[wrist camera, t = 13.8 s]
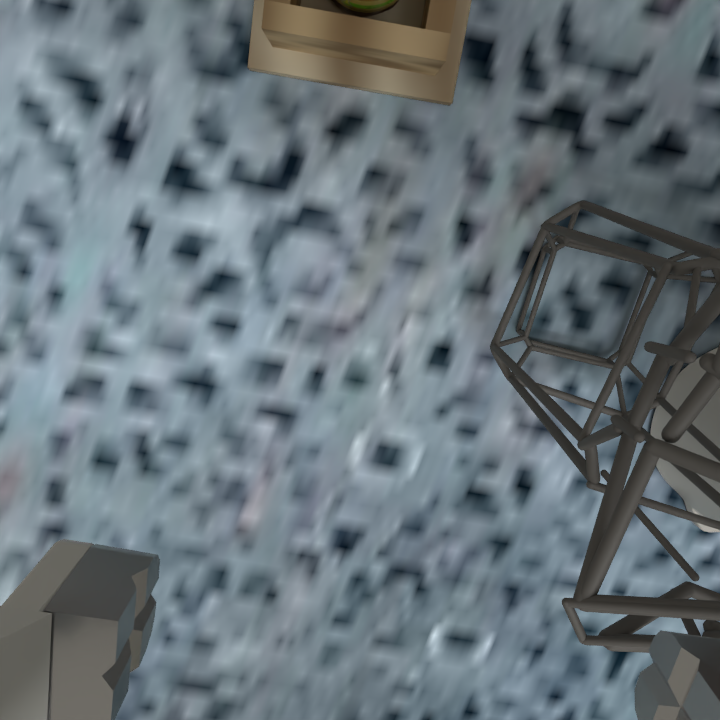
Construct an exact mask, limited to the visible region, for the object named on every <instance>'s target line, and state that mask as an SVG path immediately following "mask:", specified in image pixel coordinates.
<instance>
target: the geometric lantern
mask: <svg viewBox="0 0 720 720" xmlns="http://www.w3.org/2000/svg"><path fill="white" fill-rule="evenodd" d="M580 209H584V210H587V211H589V212H592V213H594V214H597V215H599V216H601V217H604V218H606V219H609V220H611V221H613V222H616V223H618V224H621V225H623V226H625V227H628V228H630V229H633V230H635V231H637V232H640V233H642V234H645V235H647V236H649V237H652V238H654V239H657V240H659V241H661V242H664V243H666V244H669V245H671V246H673V247H676V248H678V249H681V250H683V251H685V252H684V253H681V254H678V255H676V256H673V257H671V258H668V259H667V258H663V257H660V256H657V255H654V254H650V253H647V252H644V251H641V250H638V249H634V248H631V247H628V246H624V245H621V244H618V243H615V242H611V241H608V240H605V239H602V238H598V237H595V236H592V235H589V234H585V233H582V232H579V231H576V230H573V227H574V224H575V222H576V219H577V216H578V213H579V210H580ZM571 214H572V216H571V219H570V222H569V225H568V228H566V227H562V226H559V225H555V224H556V223H558V222H560V221H561V220H563V219H565V218H566V217H568V216H570V215H571ZM550 232H552V233H556V234H559V236H558V235H556V236H555V237H554V238H552V236H551V234H550ZM561 235H562V236H561ZM545 238H546V239H547V241H548V243H547V244H546V245H544V246H543V247H542V244H543V242H544V240H545ZM555 242H557V243H559V244H558V245H556V244H555ZM565 246H567V247H571V248H575V249H580V250H584V251H588V252H592V253H596V254H600V255H605V256H609V257H613V258H617V259H621V260H625V261H629V262H634V263H638V264H642V265H643V266H644V267H645V268H646V269H647V271H648V272H647V275H646V278H645V280H644V283H643V286H642V289H641V291H640V294H639V297H638V299H637V302H636V305H635V307H634V310H633V313H632V315H631V318H630V321H629V323H628V326H627V329H626V331H625V334H624V337H623V339H622V342H621V345H620V347H619V350H618V351H617V352H615V353H614V354H613V355H611V356H610V357H609V358H607V359H606V358H602V357H598V356H594V355H590V354H586V353H582V352H578V351H574V350H570V349H566V348H562V347H558V346H554V345H550V344H546V343H542V342H538V341H534V340H530V339H529V338H528V336H529V333H530V330H531V327H532V324H533V321H534V318H535V315H536V312H537V309H538V306H539V303H540V300H541V297H542V294H543V291H544V288H545V285H546V282H547V279H548V276H549V273H550V270H551V267H552V264H553V261H554V258H555V255H556V252H557V251H558V250H559V249H561V248H563V247H565ZM541 247H542V251H541V254H540V257H539V260H538V263H537V266H536V269H535V272H534V276H533V279H532V282H531V285H530V288H529V291H528V294H527V297H526V300H525V303H524V306H523V309H522V313H521V316H520V319H519V322H518V325H517V329H516V332H517V333H518V334H519V335H520V336H518V337H515V338H511V339H508V340H504V341H501V339H502V336H503V334H504V332H505V329H506V327H507V325H508V322H509V320H510V318H511V316H512V313H513V311H514V309H515V306H516V304H517V302H518V300H519V297H520V295H521V293H522V290H523V288H524V286H525V283H526V281H527V279H528V277H529V274H530V272H531V270H532V267H533V265H534V263H535V260H536V258H537V256H538V254H539V251H540V249H541ZM550 247H551V248H550ZM546 252H547V253H549V254H550V257H549V260H548V263H547V266H546V269H545V272H544V275H543V278H542V281H541V284H540V287H539V290H538V293H537V296H536V299H535V302H534V305H533V308H532V311H531V314H530V317H529V320H528V323H527V326H526V329H525V332H524V331H523V330H521V328H522V325H523V322H524V319H525V316H526V313H527V310H528V306H529V303H530V300H531V297H532V294H533V291H534V288H535V285H536V282H537V279H538V276H539V273H540V270H541V267H542V264H543V261H544V257H545V254H546ZM691 255H696V256H698V257H701V258H699V259H693V260H687V261H682V262H676V261H677V260H680V259H683V258H685V257H688V256H691ZM652 267H653V268H654V269H655V271H653V269H652ZM711 269H712V272H713V274H714V277H704V276H701V271H706V270H711ZM691 273H693V274H692V276H691V275H686V274H691ZM652 276H653V277H655V278H656V280H655V282H654V284H653V286H652V288H651V290H650V292H649V294H648V296H647V298H646V300H645V302H644V304H643V306H642V308H641V311H640V313H639V315H638V317H637V314H638V311H639V309H640V306H641V303H642V301H643V298H644V295H645V293H646V290H647V287H648V285H649V282H650V279H651V277H652ZM667 279H675V280H687V281H691V286H690V292H689V299H688V305H687V311H686V317H685V323H684V328H683V329H682V331H681V332H680V333H679V334H678V336H677V337H676V338H675V339H674V340H673V342H672V343H671V344H670V345H669V346H668V345H664V344H660V343H656V342H652V341H649V342H647V343H645V345H644V349H645V350H646V351H648V352H650V353H654V354H657V355H656V357H655V359H654V361H653V363H652V365H651V368H650V370H649V372H648V374H647V377H646V378H645V377H644V376H643V375H642V374H641V373H640V372H639V371H638V370H637V369H636V368H635V366H634V365H633V364H632V363H631V360H632V357H633V355H634V352H635V349H636V347H637V344H638V341H639V339H640V336H641V333H642V331H643V328H644V325H645V323H646V320H647V318H648V316H649V314H650V312H651V310H652V308H653V306H654V304H655V302H656V300H657V298H658V296H659V294H660V292H661V290H662V288H663V286H664V284H665V282H666V280H667ZM700 282H711V283H716V285H715V287H714V289H713V290H712V292H711V294H710V296H709V298H708V299H707V300H706V301H705V303H704V304H703V305H702V306H701V308H700V309H699V310H698V311H697V312H696V305H697V298H698V291H699V285H700ZM695 312H696V314H695ZM719 314H720V248H713V247H711V246H709V245H705V244H702V243H700V242H697V241H694V240H691V239H689V238H686V237H683V236H680V235H678V234H675V233H672V232H669V231H667V230H664V229H661V228H658V227H655V226H653V225H650V224H647V223H644V222H642V221H639V220H636V219H634V218H631V217H628V216H626V215H623V214H620V213H618V212H615V211H612V210H610V209H607V208H604V207H602V206H599V205H596V204H593V203H590V202H587V201H579V202H577V203H575V204H573V205H571V206H569V207H567V208H566V209H564V210H562V211H561V212H559V213H557V214H556V215H554V216H552V217H551V218H549V219H548V220H546V221H545V222H544V223H543V224H542V225H541V229H540V231H539V233H538V236H537V238H536V240H535V242H534V245H533V247H532V249H531V252H530V254H529V256H528V259H527V261H526V263H525V266H524V268H523V270H522V273H521V275H520V277H519V280H518V282H517V284H516V287H515V289H514V291H513V294H512V296H511V298H510V301H509V303H508V305H507V307H506V310H505V312H504V314H503V317H502V319H501V321H500V324H499V326H498V328H497V331H496V333H495V335H494V338H493V340H492V342H491V345H490V349H491V352H492V354H493V356H494V358H495V360H496V362H497V363H498V365H499V367H500V369H501V370H502V372H503V374H504V376H505V377H506V379H507V380H508V381H509V382H510V383H511V384H512V386H513V387H514V388H515V389H516V391H517V392H518V393H519V394H520V396H521V397H522V398H523V399H524V401H525V402H526V403H527V404H528V406H529V407H530V408H531V410H532V411H533V412H534V413H535V415H536V416H537V417H538V418H539V420H540V421H541V422H542V424H543V425H544V426H545V427H546V429H547V430H548V431H549V432H550V434H551V435H552V436H553V437H554V439H555V440H556V441H557V443H558V444H559V445H560V446H561V448H562V449H563V450H564V451H565V453H566V454H567V455H568V457H569V458H570V459H571V460H572V462H573V463H574V464H575V465H576V467H577V468H578V469H579V470H580V472H581V473H582V474H583V476H584V477H585V478H586V479H587V483H586V485H587V487H588V488H590V489H593V490H596V491H599V492H602V493H604V496H603V499H602V502H601V506H600V509H599V512H598V516H597V519H596V523H595V526H594V529H593V533H592V536H591V539H590V543H589V546H588V549H587V553H586V556H585V559H584V563H583V566H582V570H581V573H580V576H579V580H578V583H577V586H576V590H575V593H574V596H573V598H564V599H563V600H562V605H563V607H564V609H565V611H566V613H567V615H568V618H569V620H570V622H571V624H572V626H573V628H574V630H575V633H576V635H577V637H578V639H579V641H580V642H581V643H582V644H584V645H597V646H604V647H606V648H607V649H608V650H610V651H622V652H647V653H649V651H648V650H649V648H650V645H651V643H652V640H653V638H654V637H655V636H656V635H639V634H633V633H634V632H636V631H637V630H639V629H641V628H642V627H644V626H646V625H647V624H649V623H650V622H652V621H654V620H655V619H657V618H658V617H672V618H681V619H682V621H683V623H684V626H685V628H686V630H687V632H688V634H689V635H696V636H701V635H700V633H699V631H698V628H697V626H696V624H695V622H694V620H693V619H701V620H706V621H705V622H704V623H703V627H704V632H703V635H702V636H703V637H710V638H717V639H720V622H718V621H720V594H719V593H717V592H714V591H711V590H709V589H706V588H704V587H701V586H699V585H696V584H694V583H691V582H684V583H682V584H681V585H679V586H677V587H675V588H673V589H671V590H670V591H669V592H667V593H665V594H663V595H662V596H660V597H658V598H653V597H634V596H614V595H597V593H598V591H599V589H600V587H601V585H602V582H603V580H604V578H605V576H606V574H607V571H608V569H609V567H610V565H611V563H612V560H613V558H614V556H615V554H616V552H617V549H618V547H619V545H620V543H621V541H622V539H623V536H624V534H625V532H626V530H627V528H628V525H629V523H630V521H631V519H632V517H633V514H634V513H635V514H636V516H637V517H638V518H639V519H640V520H641V521H642V523H643V524H644V525H645V526H646V527H647V528H648V529H649V531H650V532H651V533H652V534H653V535H654V536H655V538H656V539H657V540H658V541H659V542H660V543H661V544H662V546H663V547H664V548H665V549H666V550H667V551H668V553H669V554H670V555H671V556H672V557H673V558H674V559H675V561H676V562H677V563H678V564H679V565H680V566H681V568H682V569H683V570H684V571H685V572H686V573H687V574H688V576H689V577H690V578H691V579H692V580H693V581H698V580H699V576H698V574H697V573H696V572H695V571H694V570H693V569H692V568H691V566H690V565H689V564H688V563H687V562H686V561H685V560H684V558H683V557H682V556H681V555H680V554H679V553H678V552H677V550H676V549H675V548H674V547H673V546H672V545H671V544H670V542H669V541H668V540H667V539H666V538H665V537H664V536H663V535H662V533H661V532H660V531H659V530H658V529H657V528H656V527H655V525H654V524H653V523H652V522H651V521H650V520H649V519H648V517H647V516H646V515H645V514H644V513H643V512H642V511H641V510H640V508H639V507H638V504H640V505H643V506H646V507H649V508H652V509H656V510H659V511H662V512H665V513H668V514H671V515H674V516H677V517H681V518H684V519H687V520H690V521H693V522H696V523H699V524H703V525H706V526H709V527H712V528H715V529H718V530H720V521H716V520H713V519H710V518H707V517H704V516H701V515H698V514H695V513H691V512H688V511H685V510H682V509H679V508H676V507H673V506H670V505H666V504H663V503H660V502H657V501H654V500H651V499H648V498H645V497H642V495H643V492H644V490H645V488H646V486H647V484H648V481H649V479H650V477H651V475H652V473H653V470H654V468H655V466H656V464H657V462H658V459H659V458H661V459H663V460H666V461H668V462H670V463H671V464H672V465H673V466H674V467H675V468H676V469H677V470H679V471H680V472H681V473H682V474H683V475H684V476H685V477H686V478H687V479H689V480H690V481H691V482H692V483H693V484H694V485H695V486H696V487H698V488H699V489H700V490H701V491H702V492H703V493H704V494H705V495H706V496H708V497H709V498H710V499H711V500H712V501H713V502H714V503H715V504H716V505H718V506H719V507H720V493H719V492H718V491H717V490H715V489H714V488H713V487H712V486H711V485H709V484H708V483H707V482H706V481H705V480H704V479H702V478H701V477H700V476H699V475H698V474H700V475H702V476H705V477H707V478H710V479H712V480H714V481H717V482H719V483H720V463H719V462H716V461H713V460H711V459H708V458H706V457H703V456H701V455H698V454H696V453H693V452H690V451H688V450H685V449H683V448H680V447H678V446H675V445H673V444H670V443H676V442H677V441H678V440H679V439H680V438H681V437H682V435H683V434H684V433H685V431H686V430H687V431H688V432H689V433H690V434H691V435H692V436H693V437H694V438H695V439H696V440H697V441H698V442H699V443H700V444H701V445H703V446H704V447H705V448H706V449H707V450H708V451H709V452H710V453H711V454H712V455H713V456H714V457H715V458H716V459H717V460H718V461H720V448H718V447H717V446H716V445H715V444H714V443H713V442H712V441H711V440H709V439H708V438H707V437H706V436H705V435H704V434H703V433H702V432H701V431H699V430H698V429H697V428H696V427H695V426H694V425H693V424H692V422H693V421H694V420H695V418H696V417H697V416H698V415H699V413H700V412H701V411H702V409H703V408H704V407H705V406H706V404H707V403H708V402H709V400H710V399H711V398H712V396H713V395H714V394H715V393H716V391H717V390H718V389H719V387H720V344H719V347H718V349H717V352H716V355H715V354H712V353H706V354H704V355H702V356H701V358H700V359H699V364H700V366H701V368H702V369H704V370H705V371H706V373H705V374H704V375H703V377H702V378H701V379H700V381H699V382H698V383H697V385H696V386H695V387H694V389H693V390H692V391H691V393H690V394H689V395H688V396H687V398H686V399H685V400H684V402H683V403H682V404H681V406H680V407H679V408H678V410H676V409H675V408H674V407H673V406H672V405H671V404H670V403H669V402H668V401H667V400H666V399H665V398H666V396H667V395H668V393H669V391H670V389H671V387H672V385H673V383H674V381H675V379H676V377H677V375H678V374H679V372H680V370H681V368H682V366H683V364H684V362H685V363H693V362H695V360H696V358H697V356H696V354H695V353H693V352H692V351H691V349H692V347H693V345H694V343H695V341H696V340H697V339H698V338H699V337H700V336H701V335H702V333H703V332H704V331H705V330H706V329H707V328H708V327H709V325H710V324H711V323H712V322H713V321H714V320H715V319H716V317H717V316H718V315H719ZM636 317H637V319H636ZM635 319H636V321H635ZM634 322H635V323H634ZM522 340H524V341H525V343H526V345H527V349H526V350H525V352H524V354H523V355H522V357H521V358H520V360H519V361H518V363H517V364H516V363H515V362H514V361H513V360H512V359H511V358H510V357H509V356H508V355H507V354H506V353H505V352H504V351H503V350H502V349H501V348H500V347H502V346H505V345H509V344H512V343H515V342H519V341H522ZM500 341H501V342H500ZM537 346H538V347H537ZM531 350H532V351H537V352H541V353H546V354H550V355H554V356H559V357H563V358H567V359H572V360H576V361H580V362H585V363H589V364H593V365H598V366H602V367H606V368H611V369H612V370H611V372H610V374H609V376H608V378H607V380H606V382H605V384H604V386H603V389H602V391H601V393H600V395H599V397H598V399H597V401H596V403H595V402H592V401H589V400H586V399H583V398H580V397H577V396H574V395H571V394H568V393H565V392H562V391H559V390H556V389H553V388H550V387H548V386H545V385H542V384H539V383H536V382H535V381H534V380H533V379H532V378H531V377H530V376H528V375H527V374H526V373H525V372H524V371H523V370H522V369H521V368H520V367H521V366H522V364H523V363H524V361H525V360H526V358H527V357H528V355H529V354H530V352H531ZM617 357H618V358H617ZM615 358H617V360H616V362H615V363H614V362H613V360H614V359H615ZM626 365H627V366H628V367H629V369H630V370H631V371H632V372H633V373H634V374H635V375H636V376H637V377H638V378H639V380H640V381H641V382H642V383H643V385H642V388H641V390H640V392H639V394H638V396H637V399H636V401H635V403H634V405H633V408H632V410H630V411H627V412H626V406H625V400H624V395H623V389H622V383H621V378H620V373H621V371H622V369H623V367H624V366H626ZM673 365H674V366H673ZM670 366H673V367H672V369H671V371H670V373H669V375H668V377H667V379H666V381H665V383H664V385H663V387H662V389H661V391H660V393H658V391H659V389H660V387H661V385H662V382H663V380H664V378H665V376H666V374H667V371H668V369H669V367H670ZM510 370H511V371H512V372H511V371H510ZM515 375H516V376H515ZM615 383H616V386H617V391H618V397H619V403H620V409H621V411H619V410H616V409H613V408H610V407H607V406H605V404H606V401H607V399H608V397H609V395H610V393H611V391H612V389H613V387H614V385H615ZM523 386H524V387H527V388H528V389H529V390H530V391H531V392H532V393H533V394H534V395H535V396H536V397H537V398H538V399H539V400H540V401H541V403H542V404H543V405H544V406H545V407H546V408H547V409H548V410H549V411H550V412H551V413H552V414H553V415H554V416H555V417H556V418H557V419H558V420H559V421H560V423H561V424H562V425H563V426H564V427H565V428H566V429H567V430H568V431H569V432H570V433H571V434H572V435H573V436H574V437H575V438H576V439H577V440H578V444H577V445H578V448H579V449H580V450H584V451H585V458H586V460H585V459H584V458H583V457H582V455H581V454H580V453H579V452H578V451H577V449H576V448H575V447H574V446H573V445H572V443H571V442H570V441H569V440H568V439H567V438H566V436H565V435H564V434H563V433H562V432H561V430H560V429H559V428H558V427H557V426H556V425H555V423H554V422H553V421H552V420H551V419H550V417H549V416H548V415H547V414H546V413H545V411H544V410H543V409H542V408H541V407H540V406H539V404H538V403H537V402H536V401H535V400H534V398H533V397H532V396H531V395H530V394H529V392H528V391H527V390H526V389H525V388H524V387H523ZM549 395H551V396H554V397H557V398H560V399H563V400H566V401H569V402H572V403H575V404H578V405H581V406H584V407H587V408H590V409H592V411H591V413H590V415H589V417H588V419H587V421H586V423H585V425H584V428H583V429H582V428H581V427H580V426H579V425H578V424H577V423H576V422H575V421H574V420H573V419H572V418H571V417H570V416H569V415H568V414H567V413H566V412H565V411H564V410H563V409H562V408H561V407H560V406H559V405H558V404H557V403H556V402H555V401H554V400H553V399H552V398H551V397H550V396H549ZM655 398H656V399H655ZM659 405H661V406H662V407H663V408H664V409H665V410H666V411H667V412H668V413H669V414H670V415H671V416H672V418H671V419H670V420H669V422H668V423H667V424H666V426H665V427H664V428H663V430H662V432H661V435H662V439H663V440H664V441H662V440H660V439H655V438H654V437H653V436H652V435H651V434H649V433H648V432H647V431H646V430H645V429H644V428H642V426H643V424H644V422H645V420H646V417H647V415H648V413H649V411H650V410H651V409H653V408H655V407H657V406H659ZM601 412H602V413H604V414H607V415H610V416H611V419H610V420H611V422H612V423H613V424H611V425H609V426H607V427H605V428H603V429H601V430H599V431H597V432H595V433H593V434H591V432H592V430H593V428H594V426H595V424H596V422H597V420H598V418H599V416H600V414H601ZM590 434H591V435H590ZM620 435H621V439H620V442H619V445H618V449H617V452H616V455H615V459H614V462H613V465H612V469H611V472H610V474H609V473H608V472H607V471H606V470H602V471H601V475H602V476H603V477H604V479H605V480H606V481H607V485H604V484H601V483H599V482H600V472H599V463H598V452H597V446H596V445H599V444H601V443H603V442H606V441H608V440H610V439H613V438H615V437H618V436H620ZM644 440H645V441H646V443H645V444H644V446H643V448H642V450H641V453H640V455H639V457H638V459H637V461H636V464H635V466H634V468H633V470H632V473H631V475H630V477H629V479H628V481H627V484H626V486H625V488H624V485H625V482H626V479H627V475H628V472H629V468H630V465H631V461H632V458H633V454H634V451H635V448H636V444H637V442H638V443H641V442H643V441H644ZM696 473H697V474H696ZM623 489H624V490H623ZM691 597H692V598H694V599H697V600H693V599H689V598H691ZM574 608H578V609H580V610H581V611H585V612H599V613H614V614H628V615H627V616H626V617H624V618H622V619H621V620H619V621H617V622H615V623H614V624H612V625H610V626H609V627H607V628H605V629H604V630H602V631H601V632H600V633H599V635H598V636H589V635H586V633H585V631H584V628H583V626H582V624H581V622H580V620H579V618H578V615H577V613H576V611H575V609H574ZM715 620H716V621H715Z"/></svg>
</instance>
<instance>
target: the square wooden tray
mask: <svg viewBox="0 0 720 720" xmlns="http://www.w3.org/2000/svg"><path fill="white" fill-rule="evenodd" d="M471 1H472V0H399V1H398V3H397V4H396V5H395V6H394V7H393V8H391V9H390V10H387V11H384V12H383V13H379V14H377V15H372V16H368V17H360V16H356V15H354V14H351V13H346V12H345V11H343V10H341V9H340V8H338V7H337V6H336V5H335V3H334V2H333V1H332V0H254V8H253V18H252V29H251V39H250V49H249V59H248V68H249V69H250V71H255V72H261V73H267V74H273V75H278V76H284V77H290V78H295V79H301V80H307V81H312V82H318V83H324V84H329V85H335V86H341V87H347V88H352V89H358V90H364V91H369V92H375V93H381V94H386V95H392V96H398V97H403V98H409V99H415V100H421V101H426V102H432V103H438V104H443V105H449V106H450V105H451V104H452V102H453V96H454V91H455V86H456V81H457V75H458V70H459V65H460V59H461V54H462V49H463V43H464V38H465V33H466V27H467V22H468V17H469V11H470V6H471Z"/></svg>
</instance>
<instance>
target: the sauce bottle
mask: <svg viewBox="0 0 720 720" xmlns="http://www.w3.org/2000/svg"><path fill="white" fill-rule="evenodd" d="M332 1H333V2H334V3H335V5H336V6H337V7H338V8H340V9H341V10H343V11H345V12H346V13H351V14H354V15H356V16H360V17H368V16H372V15H377V14H379V13H383V12H384V11H387V10H390V9H391V8H393V7H394V6H395V5H396V4H397V3H398V1H399V0H332Z"/></svg>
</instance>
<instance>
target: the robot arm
mask: <svg viewBox="0 0 720 720" xmlns="http://www.w3.org/2000/svg"><path fill="white" fill-rule="evenodd" d="M717 349H718V348H716V349H714V350H712V351H709V352H707V353H712V354H715V355H716V352H717ZM700 358H701V357H699V358H697V359H696V360H695V362H693V363H690V364H689V365H688V366H687V367H686V368H684V369H683V370H682V371H681V372H680V373H679V374H678V375H677V377H676V379H675V381H674V383H673V385H672V387H671V389H670V391H669V393H668V395H667V396H666V398H665V399H666V400H667V401H668V402H669V403H670V404H671V405H672V406H673V407H674V408H675V409H676V410H678V408H679V407H680V406H681V404H682V403H683V402H684V400H685V399H686V398H687V396H688V395H689V394H690V393H691V391H692V390H693V389H694V387H695V386H696V385H697V383H698V382H699V381H700V379H701V378H702V377H703V375H704V374H705V373H706V371H705V370H704V369H702V368H701V366H700V364H699V359H700ZM671 418H672V416H671V415H670V414H669V413H668V412H667V411H666V410H665V409H664V408H663V407H662V406H661V405H659V406H657V407H656V410H655V413H654V416H653V420H652V425H651V432H650V434H651V435H652V436H653V437H654V438H655V439H660V440H662V441H664V440H663V439H662V435H661V432H662V430H663V428H664V427H665V426H666V424H667V423H668V422H669V420H670V419H671ZM692 424H693V425H694V426H695V427H696V428H697V429H698V430H699V431H701V432H702V433H703V434H704V435H705V436H706V437H707V438H708V439H709V440H711V441H712V442H713V443H714V444H715V445H716V446H717V447H718V448H720V387H719V389H718V390H717V391H716V393H715V394H714V395H713V396H712V398H711V399H710V400H709V402H708V403H707V404H706V406H705V407H704V408H703V409H702V411H701V412H700V413H699V415H698V416H697V417H696V418H695V420H694V421H693V422H692ZM670 444H673V445H675V446H678V447H680V448H683V449H685V450H688V451H690V452H693V453H696V454H698V455H701V456H703V457H706V458H708V459H711V460H713V461H716V462H719V463H720V461H718V460H717V459H716V458H715V457H714V456H713V455H712V454H711V453H710V452H709V451H708V450H707V449H706V448H705V447H704V446H703V445H701V444H700V443H699V442H698V441H697V440H696V439H695V438H694V437H693V436H692V435H691V434H690V433H689V432H688V431H687V430H686V431H685V433H684V434H683V435H682V437H681V438H680V439H679V440H678V441H677V442H676V443H670ZM656 467H657V469H658V471H659V472H660V474H661V476H662V477H663V478H664V480H665V481H666V482H667V483H668V484H669V485H670V486H671V487H672V488H673V489H674V490H675V491H676V492H677V493H678V494H679V495H680V496H681V497H682V499H683V500H684V503H685V506H686V509H687V511H688V512H691V513H695V514H698V515H701V516H704V517H707V518H710V519H713V520H716V521H720V507H719V506H718V505H716V504H715V503H714V502H713V501H712V500H711V499H710V498H709V497H708V496H706V495H705V494H704V493H703V492H702V491H701V490H700V489H699V488H698V487H696V486H695V485H694V484H693V483H692V482H691V481H690V480H689V479H687V478H686V477H685V476H684V475H683V474H682V473H681V472H680V471H679V470H677V469H676V468H675V467H674V466H673V465H672V464H671V463H670V462H668V461H666V460H663V459H661V458H659V459H658V462H657V464H656ZM696 474H697V473H696ZM698 475H699V476H700V477H701V478H702V479H704V480H705V481H706V482H707V483H708V484H709V485H711V486H712V487H713V488H714V489H715V490H717V491H718V492H719V493H720V483H719V482H717V481H714V480H712V479H710V478H707V477H705V476H702V475H700V474H698ZM692 522H693V521H692ZM693 523H694V524H695V525H696V526H697V527H699V528H700V529H701V530H703V531H705V532H720V530H718V529H715V528H712V527H709V526H706V525H703V524H699V523H696V522H693ZM159 565H160V559H159V556H158V555H157V554H151V553H145V552H139V551H134V550H128V549H122V548H116V547H110V546H105V545H99V544H95V545H94V544H92V543H86V542H79V541H73V540H66V539H63V540H60V541H57V542H56V543H55V544H54V545H53V546H52V547H51V548H50V550H49V551H48V552H47V553H46V554H45V555H44V557H43V558H42V559H41V560H40V561H39V562H38V564H37V565H36V566H35V567H34V568H33V569H32V571H31V572H30V573H29V574H28V575H27V576H26V578H25V579H24V580H23V581H22V582H21V583H20V585H19V586H18V587H17V588H16V589H15V590H14V592H13V593H12V594H11V595H10V596H9V598H8V599H7V600H6V601H5V602H4V603H3V605H2V606H0V720H115V718H116V716H117V713H118V711H119V709H120V707H121V705H122V703H123V700H124V698H125V696H126V694H127V692H128V685H129V675H130V672H131V671H133V670H135V669H136V668H138V667H139V665H140V663H141V661H142V658H143V656H144V654H145V652H146V649H147V645H148V642H149V639H150V636H151V632H152V628H153V622H154V617H155V609H156V601H155V600H154V598H153V597H152V595H151V593H152V591H153V588H154V586H155V584H156V582H157V580H158V578H159ZM648 651H649V653H650V656H651V658H652V661H653V663H652V664H651V665H650V666H648V667H647V668H646V669H644V670H643V671H642V672H640V675H639V678H638V681H637V684H636V687H635V711H636V714H637V718H638V720H720V639H717V638H710V637H703V636H696V635H689V634H682V633H675V632H668V631H660V632H659V633H658V634H657V635H656V636H655V637H654V638H653V640H652V643H651V645H650V648H649V650H648Z"/></svg>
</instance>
